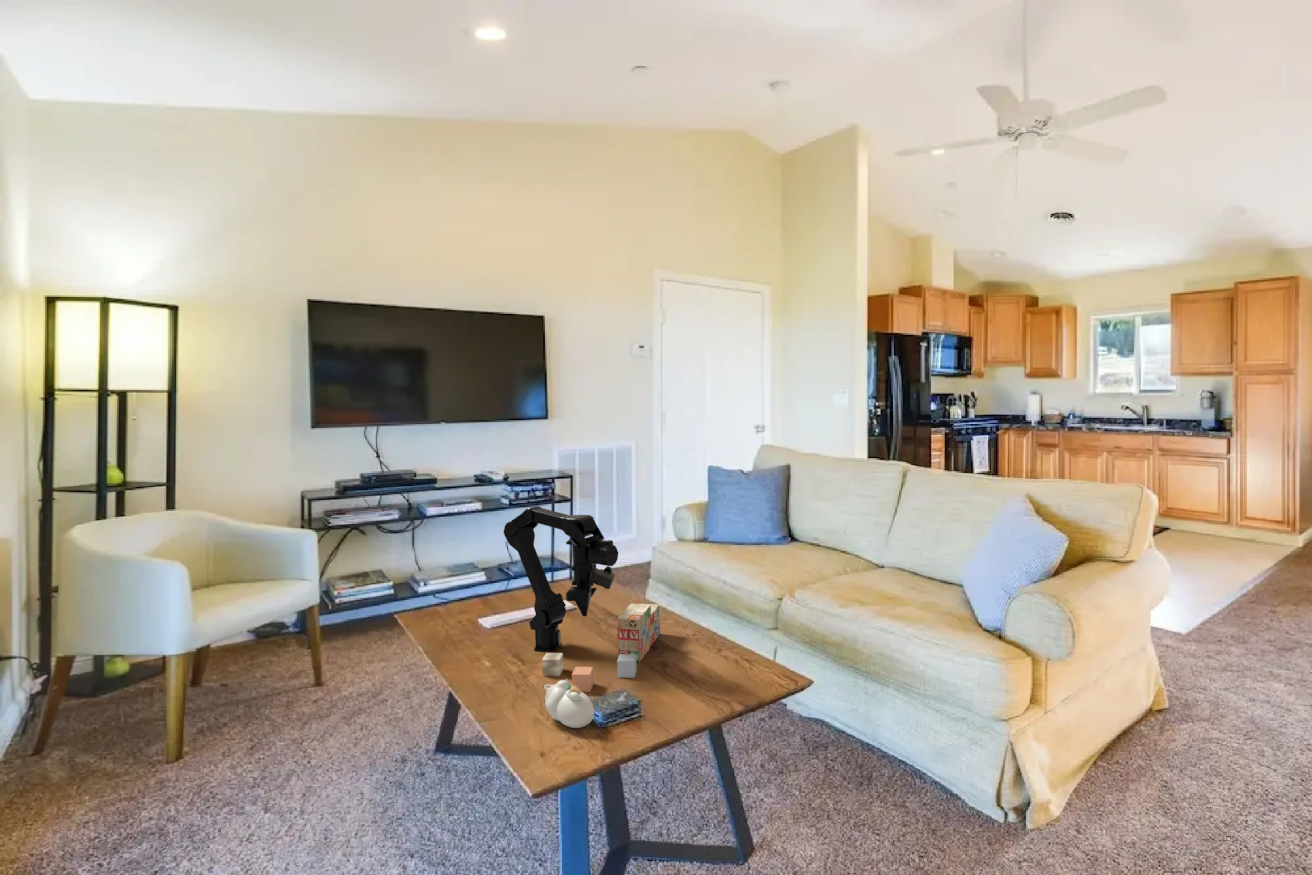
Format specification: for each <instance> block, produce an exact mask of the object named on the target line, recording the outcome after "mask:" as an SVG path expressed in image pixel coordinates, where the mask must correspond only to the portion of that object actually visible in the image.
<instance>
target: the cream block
mask: <svg viewBox="0 0 1312 875" xmlns="http://www.w3.org/2000/svg"><path fill="white" fill-rule="evenodd" d="M541 661H542V662H541V663H542V664H541V666H542V668H541V669H542V676H543V677H561V674H562V672H563V671H564V654H563V652H546V653H545V655H544V656H543V657H542V659H541Z"/></svg>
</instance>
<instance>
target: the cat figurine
mask: <svg viewBox="0 0 1312 875" xmlns="http://www.w3.org/2000/svg"><path fill="white" fill-rule="evenodd" d="M543 689H544V691H545V698H544V704H545V708H546V710H547V712H548V714H549V716H551V718H553V719H554V720H555V721H559V722H560V723H561V724H562V725H564V726H566V727H568V728H573V729H580V728H583V727H586V726H587V725H589V724H590V723H591V722H592V720H593V718H594V715H595V709H594V705H593V702H592V701H591V700H592V699H591V698H590V697H589V696H588V695H587V694H586V693H585V692H581V691H580V689H579V688H578V687H577V686H573V685H572V683H570V680H569V679H568V678H566V679H561V680H559V681H558V682H557V683H555V684H544V686H543Z"/></svg>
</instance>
